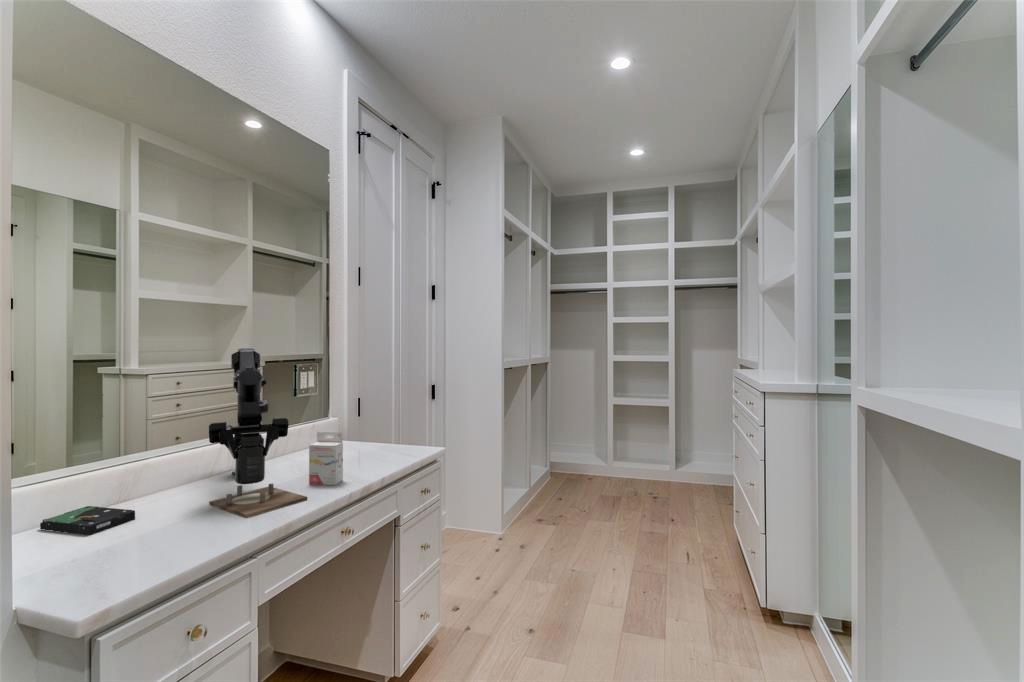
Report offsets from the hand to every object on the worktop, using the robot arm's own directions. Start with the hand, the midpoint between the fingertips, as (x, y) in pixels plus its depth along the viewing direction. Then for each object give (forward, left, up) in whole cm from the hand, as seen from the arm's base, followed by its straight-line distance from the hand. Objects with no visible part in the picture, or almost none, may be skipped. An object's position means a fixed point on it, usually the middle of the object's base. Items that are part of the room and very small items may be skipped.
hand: (250, 456), depth 127 cm
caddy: (+1, +2, -12) cm, 12 cm away
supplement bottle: (-1, +1, -7) cm, 7 cm away
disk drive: (-17, -28, -13) cm, 35 cm away
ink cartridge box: (0, +23, -12) cm, 26 cm away
